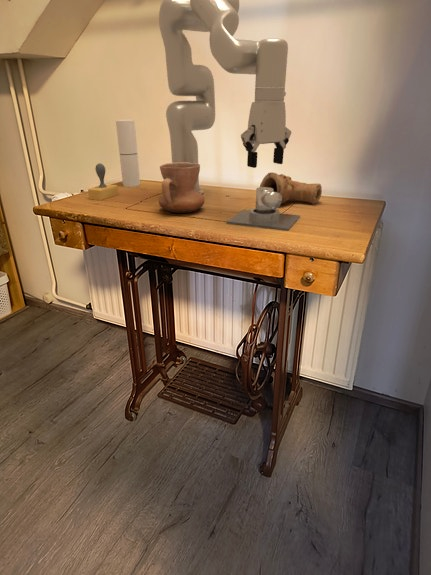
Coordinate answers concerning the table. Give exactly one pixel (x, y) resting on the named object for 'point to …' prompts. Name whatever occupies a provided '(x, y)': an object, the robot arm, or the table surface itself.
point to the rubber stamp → (102, 186)
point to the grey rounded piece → (267, 200)
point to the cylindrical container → (128, 152)
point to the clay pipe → (292, 188)
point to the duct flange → (264, 219)
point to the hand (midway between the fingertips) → (265, 165)
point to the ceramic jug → (180, 187)
